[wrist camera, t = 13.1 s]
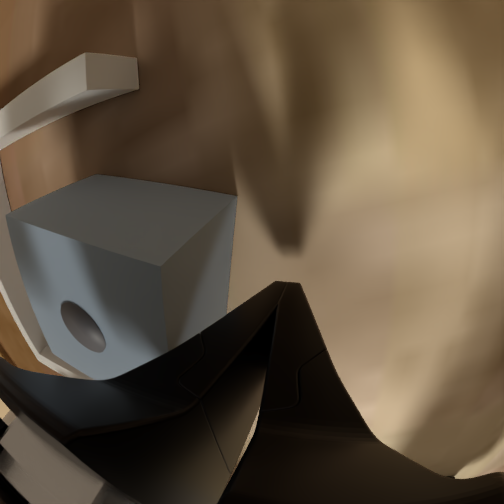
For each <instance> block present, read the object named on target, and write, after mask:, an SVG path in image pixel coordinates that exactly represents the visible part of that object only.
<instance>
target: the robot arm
mask: <svg viewBox="0 0 504 504" xmlns="http://www.w3.org/2000/svg"><path fill="white" fill-rule="evenodd" d="M0 398H1V400H2V401H3V402H4V403H5V404H6V405H7V406H8V408H9V409H10V410H11V411H12V412H13V413H14V414H15V415H16V417H15V419H14V420H13V421H12V422H11V424H10V425H9V426H8V425H7V424H6V423H5V422H4V421H3V420H2V419H1V418H0V504H504V472H494V473H490V474H486V475H482V476H478V477H474V478H469V479H455V477H452V478H449V477H444V476H442V475H439V474H437V473H434V472H432V471H431V470H429V469H427V468H425V467H423V466H421V465H420V464H418V463H416V462H414V461H412V460H411V459H409V458H407V457H405V456H404V455H402V454H400V453H398V452H397V451H395V450H393V449H392V448H390V447H388V446H387V445H385V444H384V443H382V442H381V441H380V440H379V439H377V438H376V436H375V435H374V434H373V433H372V432H371V430H370V429H369V427H368V426H367V424H366V423H365V421H364V419H363V417H362V416H361V414H360V412H359V411H358V409H357V407H356V406H355V404H354V402H353V400H352V399H351V397H350V395H349V394H348V392H347V390H346V389H345V387H344V385H343V383H342V381H341V380H340V378H339V376H338V374H337V372H336V369H335V367H334V365H333V363H332V360H331V358H330V355H329V353H328V351H327V348H326V345H325V343H324V340H323V338H322V335H321V333H320V330H319V328H318V325H317V323H316V320H315V318H314V315H313V313H312V310H311V308H310V305H309V303H308V301H307V298H306V296H305V293H304V291H303V288H302V286H301V284H300V283H295V282H282V281H275V282H273V283H272V284H270V285H269V286H267V287H266V288H265V289H263V290H262V291H260V292H259V293H257V294H256V295H254V296H253V297H251V298H250V299H249V300H247V301H246V302H244V303H243V304H241V305H240V306H238V307H237V308H235V309H234V310H232V311H231V312H229V313H228V314H226V315H225V316H224V317H222V318H221V319H219V320H218V321H216V322H215V323H213V324H212V325H210V326H209V327H207V328H205V329H204V330H202V331H201V332H200V333H198V334H196V335H195V336H193V337H192V338H190V339H189V340H187V341H185V342H184V343H182V344H180V345H179V346H177V347H175V348H174V349H172V350H170V351H168V352H166V353H164V354H162V355H161V356H159V357H157V358H155V359H153V360H151V361H149V362H147V363H145V364H143V365H140V366H138V367H136V368H134V369H132V370H130V371H128V372H126V373H124V374H122V375H119V376H117V377H114V378H111V379H105V380H88V379H79V378H70V377H63V376H55V375H49V374H42V373H37V372H31V371H27V370H23V369H20V368H17V367H15V366H13V365H11V364H10V363H8V362H7V361H6V360H5V359H3V358H2V357H0ZM259 407H260V410H259ZM258 410H259V416H258V421H257V425H256V429H255V432H254V435H253V437H252V439H251V441H250V443H249V445H248V447H247V449H246V451H245V453H244V455H243V457H242V458H241V460H240V462H239V464H238V466H237V468H236V470H235V472H234V474H233V475H232V477H231V479H230V481H229V483H228V485H227V486H226V484H227V482H228V480H229V478H230V474H231V473H232V471H233V469H234V467H235V464H236V462H237V460H238V458H239V455H240V453H241V451H242V448H243V446H244V444H245V441H246V439H247V437H248V434H249V432H250V429H251V427H252V425H253V422H254V420H255V417H256V415H257V412H258ZM225 487H226V488H225ZM224 489H225V490H224ZM223 491H224V492H223ZM222 493H223V494H222Z"/></svg>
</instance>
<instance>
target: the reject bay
mask: <svg viewBox="0 0 504 504" xmlns="http://www.w3.org/2000/svg"><path fill="white" fill-rule="evenodd" d="M138 89H139V79H138V64H137V58H134V57H127V56H119V55H110V54H101V53H89V52H85V53H83V54H81V55H79V56H78V57H76V58H74V59H72V60H71V61H69V62H67V63H65V64H64V65H62V66H61V67H59V68H57V69H56V70H54V71H53V72H51V73H49V74H48V75H46V76H45V77H43V78H42V79H40V80H39V81H38V82H36V83H35V84H33V85H32V86H30V87H29V88H28V89H26V90H25V91H24V92H22V93H21V94H20V95H18V96H17V97H16V98H15V99H13V100H12V101H11V102H9V103H8V104H7V105H6V106H5V107H3V108H2V109H1V110H0V150H1V149H3V148H5V147H6V146H8V145H10V144H11V143H13V142H15V141H17V140H19V139H20V138H22V137H24V136H26V135H28V134H30V133H31V132H33V131H35V130H37V129H39V128H41V127H43V126H45V125H47V124H49V123H52V122H54V121H56V120H58V119H60V118H62V117H65V116H67V115H69V114H72V113H74V112H76V111H79V110H81V109H84V108H86V107H89V106H91V105H94V104H96V103H99V102H102V101H105V100H107V99H110V98H113V97H116V96H119V95H122V94H125V93H128V92H131V91H135V90H138ZM10 212H11V209H10V205H9V201H8V197H7V193H6V188H5V184H4V179H3V174H2V168H1V162H0V291H1V293H2V295H3V298H4V300H5V302H6V304H7V306H8V308H9V310H10V312H11V314H12V316H13V318H14V320H15V322H16V324H17V325H18V327H19V329H20V331H21V333H22V334H23V336H24V338H25V340H26V341H27V343H28V345H29V346H30V348H31V350H32V351H33V353H34V354H35V356H36V358H37V359H38V361H40V362H41V363H43V364H44V365H46V366H48V367H49V368H51V369H53V370H55V371H56V372H58V373H60V374H62V375H63V376H65V377H70V378H79V379H88V380H94V379H92V378H91V377H89V376H87V375H86V374H84V373H82V372H81V371H79V370H77V369H76V368H74V367H73V366H71V365H69V364H68V363H66V362H65V361H63V360H62V359H60V358H59V357H57V356H56V355H54V354H53V353H52V351H51V349H50V347H49V345H48V343H47V341H46V339H45V336H44V334H43V332H42V330H41V327H40V325H39V323H38V320H37V318H36V316H35V313H34V311H33V308H32V306H31V303H30V300H29V298H28V295H27V292H26V289H25V286H24V283H23V280H22V277H21V274H20V271H19V268H18V265H17V261H16V258H15V254H14V250H13V247H12V243H11V239H10V235H9V230H8V226H7V221H6V216H5V215H6V214H8V213H10Z"/></svg>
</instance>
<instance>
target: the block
mask: <svg viewBox="0 0 504 504" xmlns="http://www.w3.org/2000/svg"><path fill="white" fill-rule="evenodd" d="M236 205H237V196H234V195H229V194H223V193H218V192H212V191H207V190H201V189H195V188H189V187H183V186H177V185H171V184H164V183H158V182H151V181H144V180H138V179H130V178H123V177H115V176H107V175H99V174H95V175H93V176H90V177H87V178H85V179H82V180H80V181H77V182H75V183H73V184H70V185H68V186H65V187H63V188H61V189H58V190H56V191H54V192H52V193H49V194H47V195H45V196H43V197H41V198H39V199H36V200H34V201H32V202H30V203H28V204H26V205H24V206H22V207H20V208H18V209H16V210H14V211H12V212H10V213H8V214H6V215H5V216H6V221H7V226H8V230H9V235H10V239H11V243H12V247H13V250H14V254H15V258H16V261H17V265H18V268H19V271H20V274H21V277H22V280H23V283H24V286H25V289H26V292H27V295H28V298H29V300H30V303H31V306H32V308H33V311H34V313H35V316H36V318H37V320H38V323H39V325H40V327H41V330H42V332H43V334H44V336H45V339H46V341H47V343H48V345H49V347H50V349H51V351H52V353H53V354H54V355H56V356H57V357H59V358H60V359H62V360H63V361H65V362H66V363H68V364H69V365H71V366H73V367H74V368H76V369H77V370H79V371H81V372H82V373H84V374H86V375H87V376H89V377H91V378H92V379H94V380H105V379H111V378H114V377H117V376H119V375H122V374H124V373H126V372H128V371H130V370H132V369H134V368H136V367H138V366H140V365H143V364H145V363H147V362H149V361H151V360H153V359H155V358H157V357H159V356H161V355H162V354H164V353H166V352H168V351H170V350H172V349H174V348H175V347H177V346H179V345H180V344H182V343H184V342H185V341H187V340H189V339H190V338H192V337H193V336H195V335H196V334H198V333H200V332H201V331H202V330H204V329H205V328H207V327H209V326H210V325H212V324H213V323H215V322H216V321H218V320H219V319H221V318H222V317H224V316H225V315H226V312H227V300H228V289H229V278H230V267H231V256H232V245H233V235H234V225H235V215H236Z"/></svg>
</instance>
